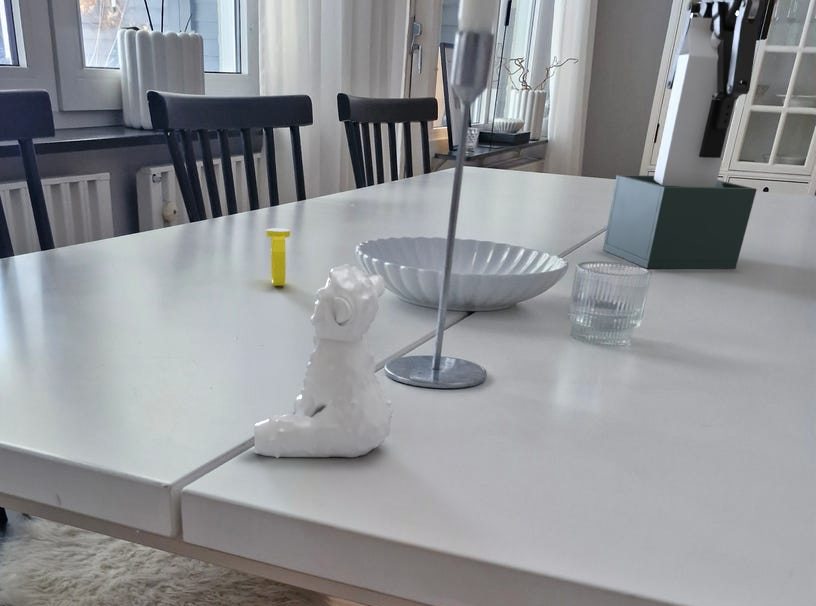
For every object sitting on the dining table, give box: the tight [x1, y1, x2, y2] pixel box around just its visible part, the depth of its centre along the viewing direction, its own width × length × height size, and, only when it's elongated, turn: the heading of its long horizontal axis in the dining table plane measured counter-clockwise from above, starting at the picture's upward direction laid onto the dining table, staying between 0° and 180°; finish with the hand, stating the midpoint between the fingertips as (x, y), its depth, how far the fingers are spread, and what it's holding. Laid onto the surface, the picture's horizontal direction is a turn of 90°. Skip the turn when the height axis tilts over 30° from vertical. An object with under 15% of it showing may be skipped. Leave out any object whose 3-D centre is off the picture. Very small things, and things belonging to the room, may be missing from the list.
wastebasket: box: [602, 174, 758, 270], centre depth 126 cm, size 14×14×10 cm
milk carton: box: [653, 18, 748, 187], centre depth 119 cm, size 7×7×19 cm
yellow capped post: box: [265, 227, 291, 287], centre depth 104 cm, size 6×3×6 cm, turn 6°
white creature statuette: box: [253, 263, 394, 459], centre depth 60 cm, size 10×9×12 cm
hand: (690, 153), depth 122 cm, fingers closed on milk carton, 9 cm apart
